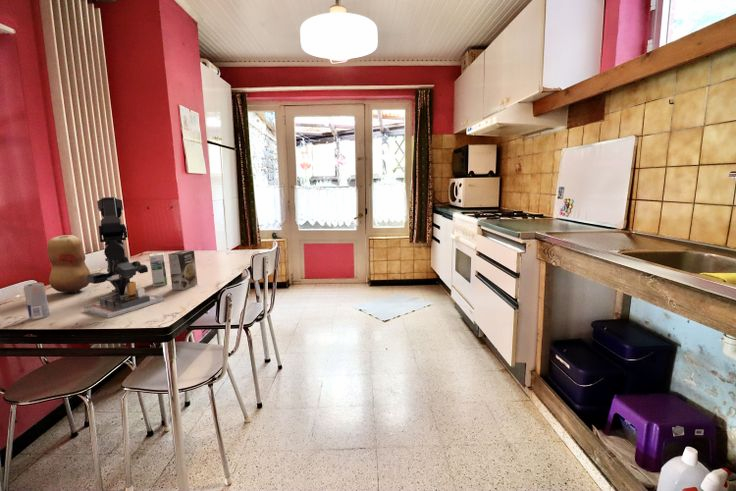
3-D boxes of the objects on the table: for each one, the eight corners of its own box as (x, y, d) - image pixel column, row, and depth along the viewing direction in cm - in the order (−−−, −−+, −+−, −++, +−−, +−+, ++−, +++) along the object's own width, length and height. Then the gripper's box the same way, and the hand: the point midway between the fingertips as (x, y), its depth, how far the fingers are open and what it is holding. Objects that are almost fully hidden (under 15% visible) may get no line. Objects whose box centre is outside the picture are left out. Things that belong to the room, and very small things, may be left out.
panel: (84, 311, 130) (81, 294, 129) (139, 295, 147) (137, 280, 146) (108, 318, 123) (105, 300, 121) (163, 300, 140) (161, 285, 139)
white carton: (38, 314, 127) (32, 282, 125) (54, 313, 128) (48, 282, 125) (25, 320, 122) (18, 287, 120) (41, 319, 122) (35, 286, 120)
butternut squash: (51, 299, 144) (40, 239, 139) (52, 292, 154) (41, 236, 149) (94, 292, 153) (84, 235, 148) (92, 285, 163) (83, 232, 158)
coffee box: (184, 290, 153) (180, 254, 150) (171, 289, 154) (167, 254, 151) (198, 284, 162) (194, 250, 159) (186, 283, 163) (182, 249, 160)
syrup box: (153, 286, 159) (148, 255, 157) (153, 283, 164) (149, 253, 162) (167, 284, 162) (163, 254, 159) (167, 281, 167) (164, 252, 164)
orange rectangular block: (127, 294, 136) (125, 283, 135) (134, 292, 139) (132, 281, 138) (130, 295, 135) (128, 283, 134) (137, 293, 138) (135, 282, 137)
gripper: (99, 262, 119) (106, 306, 122) (153, 252, 135) (158, 291, 138) (82, 259, 124) (89, 301, 127) (137, 250, 140) (142, 287, 143)
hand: (122, 295), depth 134 cm, fingers closed
